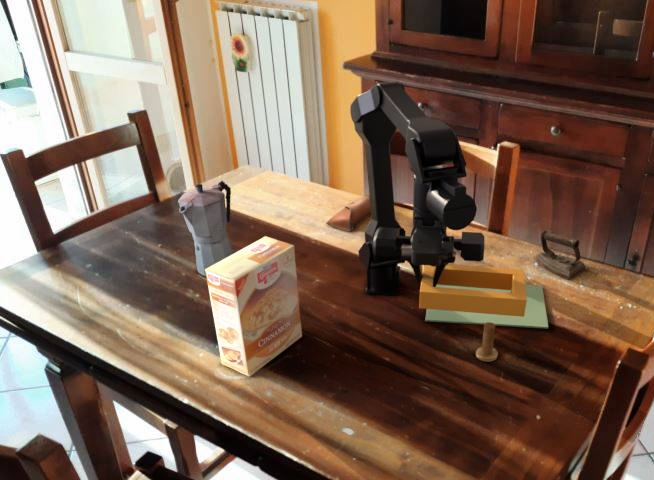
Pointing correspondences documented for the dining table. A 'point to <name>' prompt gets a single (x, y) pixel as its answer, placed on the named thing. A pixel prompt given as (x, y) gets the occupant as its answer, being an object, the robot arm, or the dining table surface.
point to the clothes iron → (557, 262)
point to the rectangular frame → (474, 298)
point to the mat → (532, 317)
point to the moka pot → (208, 223)
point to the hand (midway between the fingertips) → (427, 286)
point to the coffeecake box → (255, 304)
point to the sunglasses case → (351, 214)
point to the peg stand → (487, 344)
